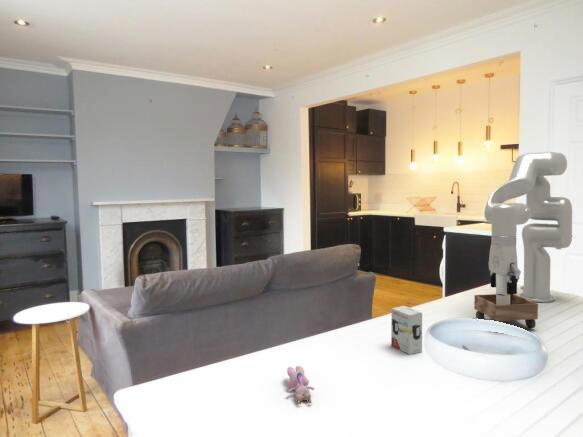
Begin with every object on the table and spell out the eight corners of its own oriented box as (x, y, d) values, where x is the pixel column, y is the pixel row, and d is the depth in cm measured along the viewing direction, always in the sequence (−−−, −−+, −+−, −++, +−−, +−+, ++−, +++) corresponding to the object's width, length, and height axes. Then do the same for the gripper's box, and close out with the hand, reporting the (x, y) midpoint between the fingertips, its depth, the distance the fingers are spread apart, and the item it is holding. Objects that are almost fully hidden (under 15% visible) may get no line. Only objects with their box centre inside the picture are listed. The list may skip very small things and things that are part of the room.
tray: (474, 319, 150) (474, 295, 149) (511, 317, 151) (512, 293, 150) (496, 332, 136) (496, 305, 135) (537, 330, 137) (537, 303, 136)
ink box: (390, 345, 128) (390, 307, 127) (403, 342, 130) (403, 305, 129) (409, 355, 120) (409, 314, 119) (422, 352, 122) (422, 312, 121)
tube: (507, 308, 146) (506, 265, 145) (512, 311, 142) (512, 267, 141) (494, 308, 147) (493, 265, 146) (499, 311, 142) (498, 267, 142)
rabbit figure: (318, 410, 94) (305, 371, 108) (319, 386, 93) (305, 350, 107) (291, 413, 93) (281, 373, 107) (291, 389, 92) (281, 352, 106)
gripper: (479, 238, 151) (479, 285, 152) (508, 244, 134) (507, 297, 135) (499, 237, 152) (499, 284, 153) (530, 243, 134) (529, 296, 136)
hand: (503, 290), depth 144 cm, fingers open, 9 cm apart
